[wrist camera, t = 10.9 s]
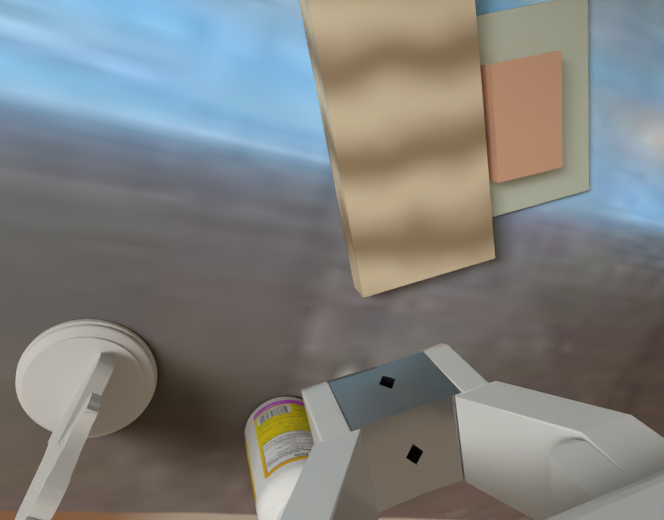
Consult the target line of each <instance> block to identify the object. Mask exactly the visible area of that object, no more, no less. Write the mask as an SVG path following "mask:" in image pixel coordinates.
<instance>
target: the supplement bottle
mask: <svg viewBox="0 0 664 520" xmlns="http://www.w3.org/2000/svg"><path fill="white" fill-rule="evenodd" d="M245 444H246V451H247V456H248V462H249V468H250V474H251V480H252V486H253V492H254V498H255V505H256V511H257V516H258V519H259V520H280V519H281V516H282V514H283V512H284V510H285V507H286V505H287V503H288V501H289V498H290V496H291V494H292V492H293V489H294V487H295V485H296V483H297V480H298V478H299V476H300V474H301V471H302V469H303V467H304V465H305V462H306V460H307V458H308V456H309V454H310V451H311V449H312V447H313V445H314V441H313V437H312V433H311V429H310V425H309V421H308V417H307V413H306V409H305V405H304V401H303V400H302V399H299V398H295V397H277V398H274V399H271V400H269V401H267V402H265V403H263V404H262V405H260V406H259V407H258V408H257V409H256V410H255V411H254V412H253V413H252V414H251V416H250V417H249V419H248V421H247V424H246V427H245Z"/></svg>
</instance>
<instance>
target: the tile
mask: <svg viewBox="0 0 664 520" xmlns="http://www.w3.org/2000/svg"><path fill="white" fill-rule="evenodd" d="M480 70H481V83H482V95H483V108H484V121H485V134H486V146H487V159H488V172H489V181H493V182H497V183H500V182H504V181H508V180H512V179H516V178H520V177H525V176H529V175H533V174H537V173H541V172H545V171H549V170H553V169H557V168H561V167H563V162H562V52H561V51H555V52H548V53H542V54H537V55H532V56H527V57H521V58H516V59H511V60H506V61H501V62H496V63H490V64H485V65H480Z"/></svg>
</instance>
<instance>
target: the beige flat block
mask: <svg viewBox="0 0 664 520" xmlns="http://www.w3.org/2000/svg"><path fill="white" fill-rule="evenodd" d="M300 7H301V12H302V17H303V22H304V27H305V33H306V38H307V43H308V48H309V53H310V59H311V64H312V69H313V74H314V80H315V85H316V90H317V95H318V100H319V106H320V111H321V116H322V121H323V126H324V132H325V137H326V142H327V147H328V152H329V158H330V163H331V168H332V173H333V178H334V184H335V189H336V194H337V199H338V204H339V210H340V215H341V220H342V225H343V230H344V236H345V241H346V246H347V251H348V257H349V262H350V267H351V272H352V277H353V283H354V287H355V289H356V290H357V291H358V292H359V293H360V294H361V295H362V297H363V298H364V297H368V296H371V295H374V294H378V293H381V292H384V291H388V290H391V289H394V288H398V287H401V286H404V285H408V284H411V283H414V282H418V281H421V280H424V279H428V278H431V277H434V276H438V275H441V274H444V273H448V272H451V271H455V270H458V269H461V268H465V267H468V266H471V265H475V264H478V263H481V262H485V261H488V260H491V259H495V248H494V236H493V223H492V210H491V197H490V185H489V172H488V159H487V146H486V134H485V121H484V108H483V95H482V83H481V70H480V57H479V44H478V31H477V19H476V6H475V0H301V1H300Z"/></svg>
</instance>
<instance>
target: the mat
mask: <svg viewBox="0 0 664 520" xmlns="http://www.w3.org/2000/svg"><path fill="white" fill-rule="evenodd" d="M476 19H477V31H478V44H479V57H480V65H485V64H490V63H496V62H501V61H506V60H511V59H516V58H521V57H527V56H532V55H537V54H542V53H548V52H555V51H561V52H562V162H563V167H561V168H557V169H553V170H549V171H545V172H541V173H537V174H533V175H529V176H525V177H520V178H516V179H512V180H508V181H504V182H500V183H497V182H493V181H489V185H490V197H491V210H492V217H494V216H498V215H502V214H505V213H509V212H512V211H516V210H519V209H523V208H527V207H530V206H534V205H537V204H541V203H544V202H548V201H551V200H555V199H559V198H562V197H566V196H569V195H573V194H576V193H580V192H584V191H587V190H589V96H588V0H555V1H550V2H544V3H539V4H534V5H529V6H524V7H519V8H513V9H508V10H503V11H498V12H493V13H487V14H482V15H477V16H476Z"/></svg>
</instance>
